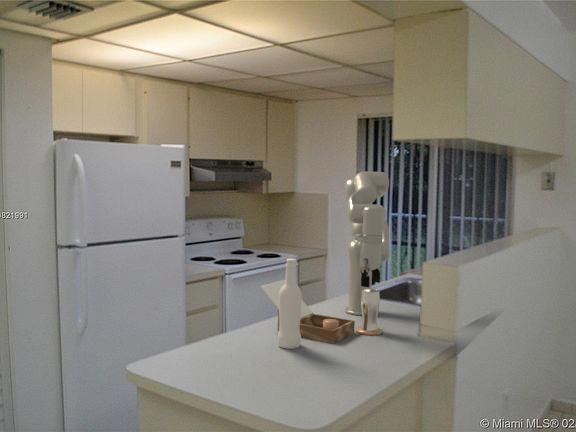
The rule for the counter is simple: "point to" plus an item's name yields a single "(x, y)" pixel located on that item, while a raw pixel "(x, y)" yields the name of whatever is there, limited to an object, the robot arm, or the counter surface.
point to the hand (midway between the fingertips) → (370, 284)
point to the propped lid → (273, 295)
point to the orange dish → (360, 331)
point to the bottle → (290, 309)
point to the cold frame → (325, 334)
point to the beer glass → (370, 309)
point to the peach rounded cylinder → (330, 324)
